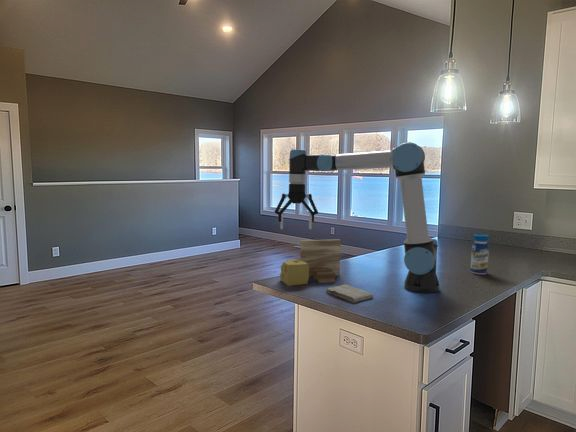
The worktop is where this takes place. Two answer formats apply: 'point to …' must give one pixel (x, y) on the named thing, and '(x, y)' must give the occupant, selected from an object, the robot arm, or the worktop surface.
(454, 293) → the worktop surface
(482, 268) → the beverage bottle
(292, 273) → the cheese
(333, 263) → the wall board
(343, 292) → the washcloth
